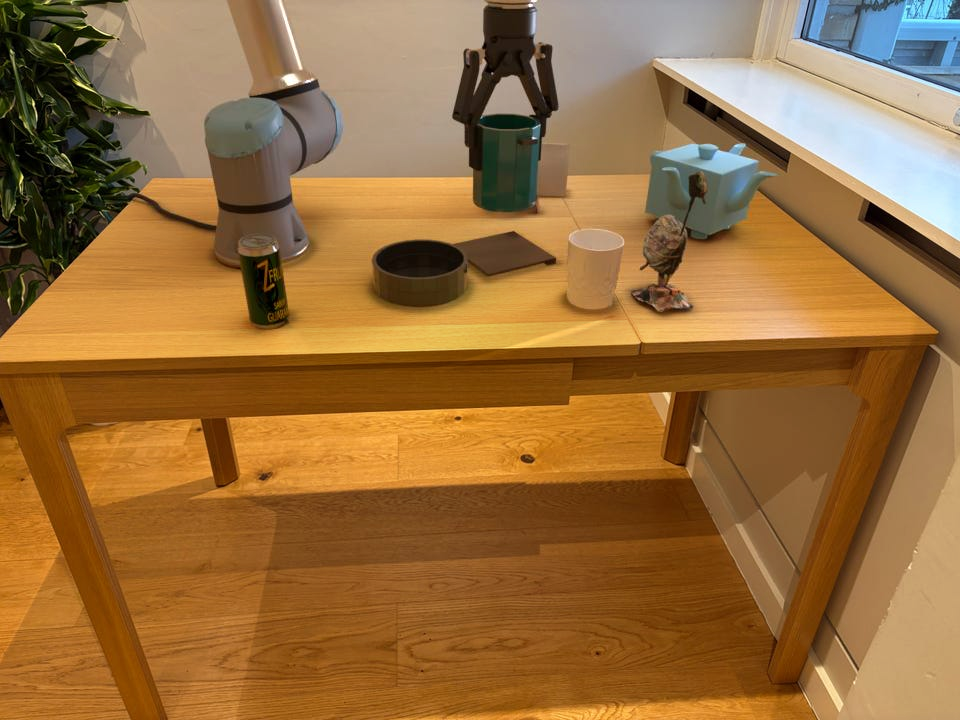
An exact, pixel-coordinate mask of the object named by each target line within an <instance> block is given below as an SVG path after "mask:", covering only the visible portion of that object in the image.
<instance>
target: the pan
mask: <svg viewBox="0 0 960 720" xmlns="http://www.w3.org/2000/svg"><path fill="white" fill-rule="evenodd" d="M453 244H454V243H450V242H446V241H443V240H435V239H425V238H424V239H421V238H419V239H406V240H401V241H396V242H392V243H390V244H387V245H384V246H382V247H380V248H379V249H377V250H376V251H375V253H374V254H372V258H371V269H372V270H371V271H372V284H373V289H374V292H375V294H376V295H377V296H378V297H379V298H381V299H382V300H384V301H386V302H388V303H391V304H393V305H398V306H401V307H402V306H403V307H408V308H409V307H411V308H427V307H429V308H430V307H437V306H440V305H444V304H448V303H451V302H453V301H455V300H457V299H459V298H460V297H462V296H463V295H464V294H465V292H466V291H467V289H468V273H469V271H468V267H469V266H468V264H469V262H468V256H467V254H466V253H465V251H463V250H462V249H461V248H459V247H458V246H455V245H453Z"/></svg>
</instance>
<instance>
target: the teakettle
mask: <svg viewBox="0 0 960 720" xmlns="http://www.w3.org/2000/svg"><path fill="white" fill-rule="evenodd" d="M746 146H747V143H744V142H741V143H737V144H735V145H733V146H732V148H731V149H730V150H729V152H727V151H724V150H720V149H719V147H718V146H717V145H715V144H711V143H702V144H697V143H689V144H685V145H682V146H679V147H676V148H671V149H669V150H655V151H653V152H652V153H651V154H650V156H649V161H650V165H651V169H650V173H649V174H650V175H649V181H648V189H647V194H646V201H645V209H644V214H648V215H651V216H653V217H657V218H658V219H659V218H661V216H664V215H667V214H669V215H673V216H674V217H675V218H676V219H677V220H678V221H680V222H681V224H683V223H684V220H685V217H686V214H687V212H688V209H689V202H690V199H691V197H690V196H689V179H688V177H689V176H690V175H691V174H694V173H697V172H699V171H702V172H703V173H704V177H705V178H706V183H707V185H708V191H707V193H706V194H705V202H706V204H704V203H703V202H702V198H699V197H696V198H695V199H694V202H693V205H692V207H691V210H690V212H689V214H688V218H687V221H686V224H685V228H688V229H690V234H689V235H690V237H691V238H693V239H695V240H696V239H697V240H705V239H707V238H708V236H712V235H713V234H715V233H716V234H717V233H718V232H720V231H723V230H728V229H730V227H731V226H734V225H737V224H738V223H741V222H743V221H745V220H747V218H748V213H749V209H750V205H751V202H752V201H753V199H754V197H755V196H756V193H757V191H758V189H759V187H760V186H761V184H762V183H763V182H764V181H766V180H767V179H769V178H773V177H778V174H777V173H774V172H770V171H765V170H763V171H758V169H759V165H760V160H757V159H754V158H750V157H747V156H743V155H741V153H742V151H743V150H744V149H745V148H746ZM672 211H673V212H676V213H673V212H672Z"/></svg>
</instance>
